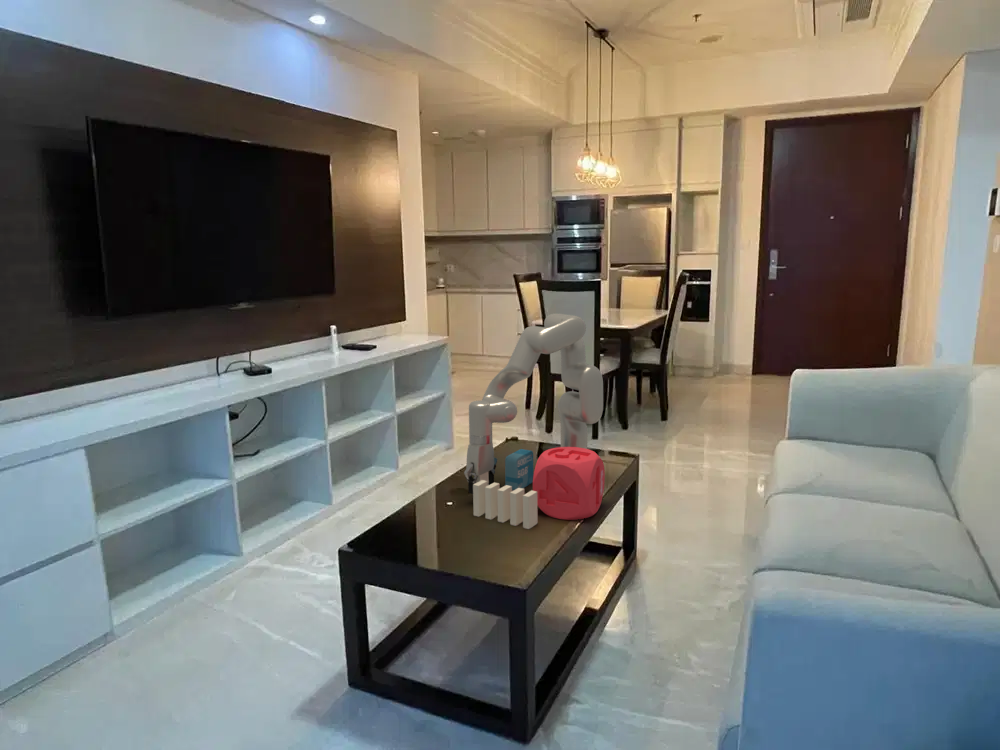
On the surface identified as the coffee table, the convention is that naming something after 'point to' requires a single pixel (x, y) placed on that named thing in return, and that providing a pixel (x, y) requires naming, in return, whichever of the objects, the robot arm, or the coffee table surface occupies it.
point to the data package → (519, 469)
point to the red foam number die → (569, 482)
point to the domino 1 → (483, 477)
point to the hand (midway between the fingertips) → (481, 489)
